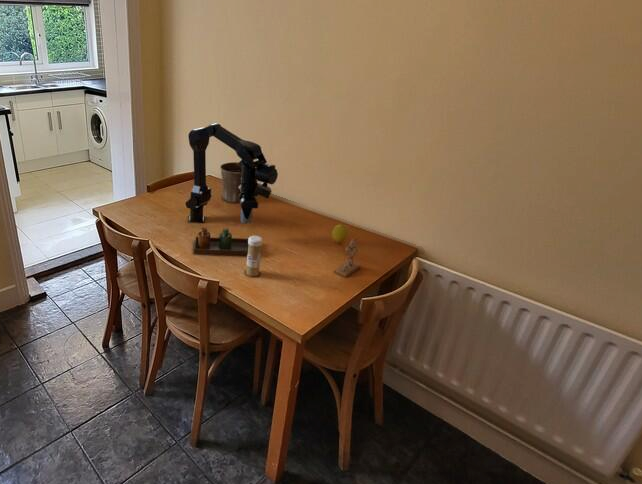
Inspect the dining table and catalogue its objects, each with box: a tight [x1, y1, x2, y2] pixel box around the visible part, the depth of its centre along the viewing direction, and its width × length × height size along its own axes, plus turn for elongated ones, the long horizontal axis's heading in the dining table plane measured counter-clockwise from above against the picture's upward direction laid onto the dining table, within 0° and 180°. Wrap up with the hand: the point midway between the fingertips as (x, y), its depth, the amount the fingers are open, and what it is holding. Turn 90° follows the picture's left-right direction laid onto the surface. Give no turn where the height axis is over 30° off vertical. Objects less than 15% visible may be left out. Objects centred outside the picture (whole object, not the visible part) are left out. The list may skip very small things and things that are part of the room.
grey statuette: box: [335, 238, 360, 278], centre depth 139 cm, size 9×4×12 cm, turn 131°
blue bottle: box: [240, 207, 254, 224], centre depth 159 cm, size 4×4×8 cm
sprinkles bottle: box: [245, 235, 263, 277], centre depth 137 cm, size 5×5×14 cm
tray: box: [193, 236, 249, 257], centre depth 155 cm, size 10×23×2 cm, turn 85°
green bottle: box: [218, 228, 233, 250], centre depth 154 cm, size 5×5×8 cm
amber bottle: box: [197, 227, 211, 249], centre depth 155 cm, size 5×5×8 cm
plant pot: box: [219, 161, 242, 204], centre depth 199 cm, size 16×16×16 cm
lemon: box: [331, 223, 349, 244], centre depth 158 cm, size 6×6×8 cm
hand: (246, 216), depth 160 cm, fingers closed on blue bottle, 4 cm apart
